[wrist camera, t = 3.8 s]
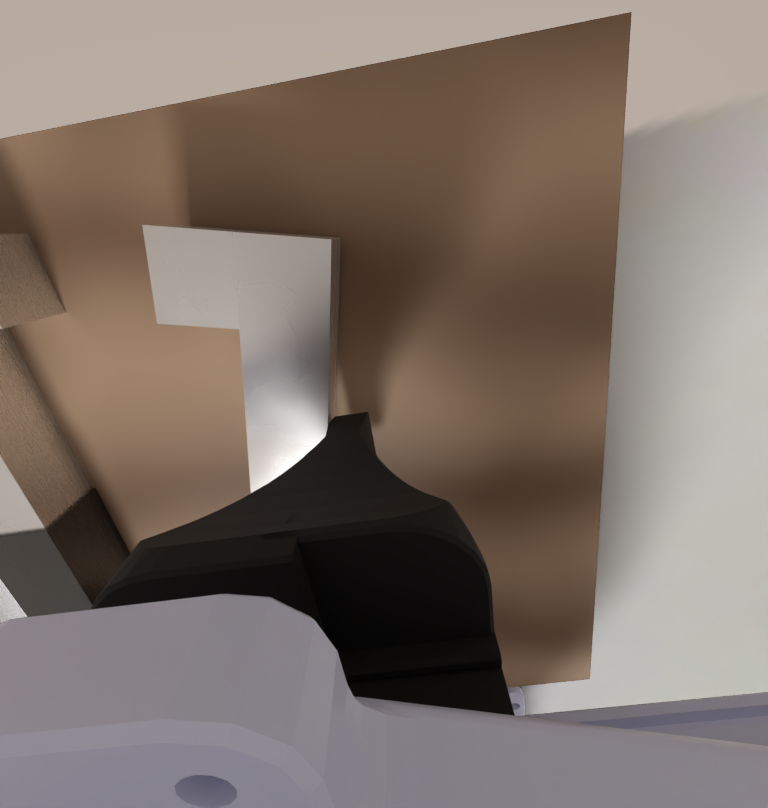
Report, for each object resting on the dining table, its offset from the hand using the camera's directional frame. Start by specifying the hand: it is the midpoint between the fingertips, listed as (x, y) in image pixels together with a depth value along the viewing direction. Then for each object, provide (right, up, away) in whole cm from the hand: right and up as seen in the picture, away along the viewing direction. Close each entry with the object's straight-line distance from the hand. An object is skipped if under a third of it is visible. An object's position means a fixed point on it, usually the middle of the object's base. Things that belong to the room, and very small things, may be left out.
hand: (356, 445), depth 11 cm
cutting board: (-3, -1, +3) cm, 5 cm away
